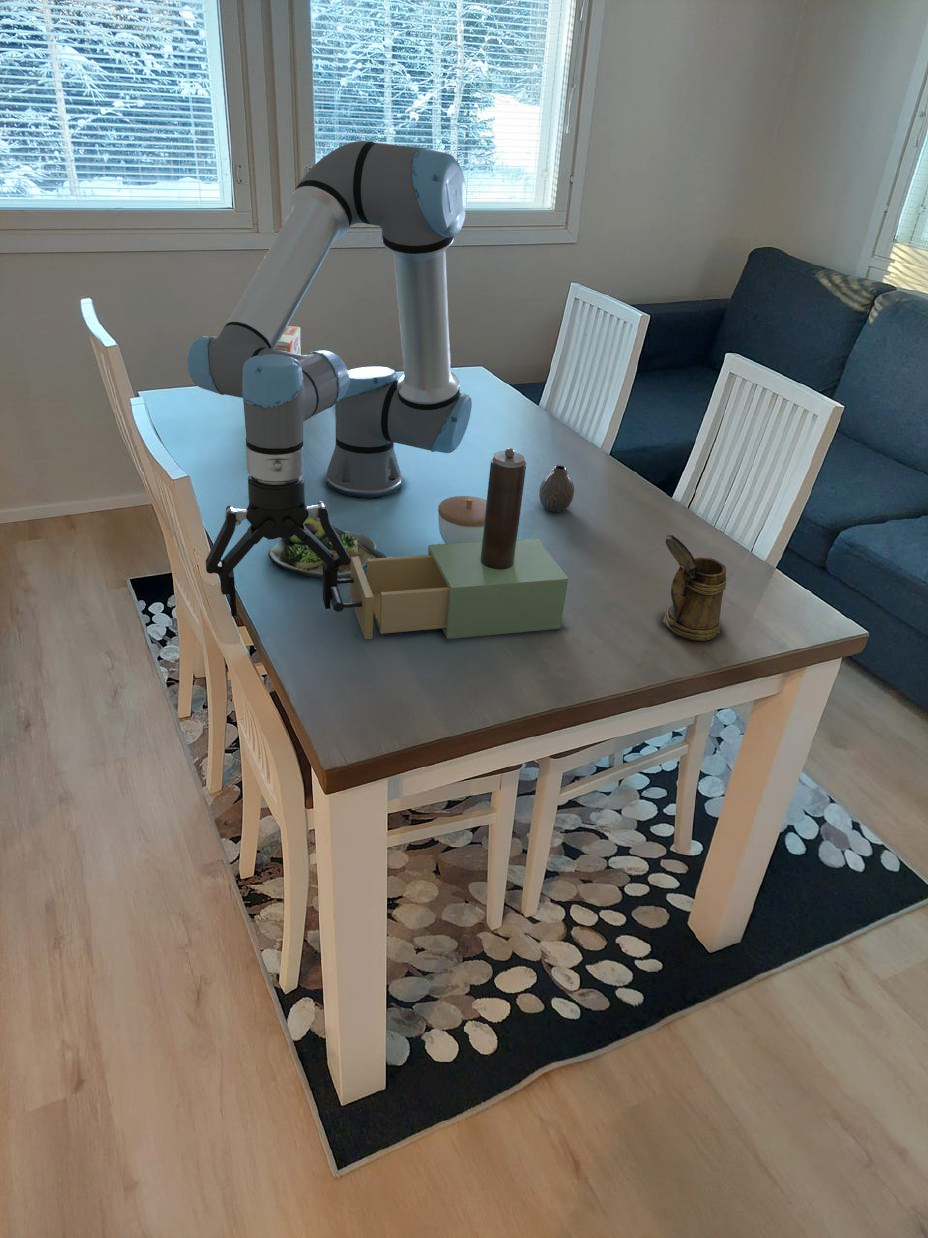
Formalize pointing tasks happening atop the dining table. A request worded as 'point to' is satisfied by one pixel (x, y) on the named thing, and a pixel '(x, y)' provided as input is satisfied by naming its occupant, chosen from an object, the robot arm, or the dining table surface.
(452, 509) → the trinket box
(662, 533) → the dining table surface
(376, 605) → the drawer
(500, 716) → the dining table surface
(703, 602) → the wooden mug
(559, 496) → the vase
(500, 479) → the pepper mill
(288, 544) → the salad plate
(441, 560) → the cabinet
